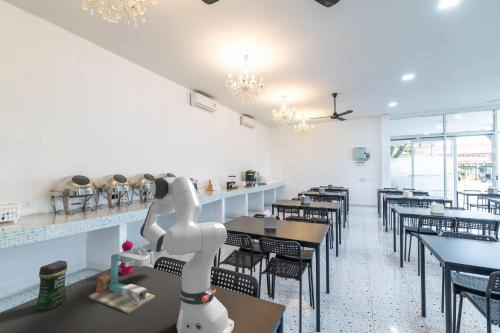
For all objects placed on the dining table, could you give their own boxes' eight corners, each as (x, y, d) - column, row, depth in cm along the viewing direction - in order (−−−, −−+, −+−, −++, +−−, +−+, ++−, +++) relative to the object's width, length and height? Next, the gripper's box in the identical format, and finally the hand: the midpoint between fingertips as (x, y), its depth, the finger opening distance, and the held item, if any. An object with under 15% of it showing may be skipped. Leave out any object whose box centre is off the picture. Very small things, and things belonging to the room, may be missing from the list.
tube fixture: (154, 297, 110) (155, 280, 110) (128, 313, 97) (128, 293, 98) (116, 285, 122) (117, 269, 123) (88, 297, 110) (89, 280, 110)
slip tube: (133, 293, 109) (134, 258, 109) (127, 296, 106) (128, 260, 107) (110, 285, 116) (111, 252, 117) (104, 288, 113) (105, 254, 114)
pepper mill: (135, 270, 141) (136, 237, 142) (128, 275, 134) (129, 240, 135) (124, 269, 142) (125, 237, 143) (116, 274, 135) (118, 240, 136)
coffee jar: (47, 312, 98) (49, 267, 98) (32, 310, 99) (34, 266, 100) (69, 300, 107) (71, 259, 108) (55, 298, 109) (57, 258, 109)
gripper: (129, 246, 132) (105, 253, 120) (155, 251, 124) (132, 260, 111) (129, 257, 132) (105, 266, 120) (155, 263, 123) (132, 273, 111)
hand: (118, 263), depth 115 cm, fingers open, 8 cm apart
